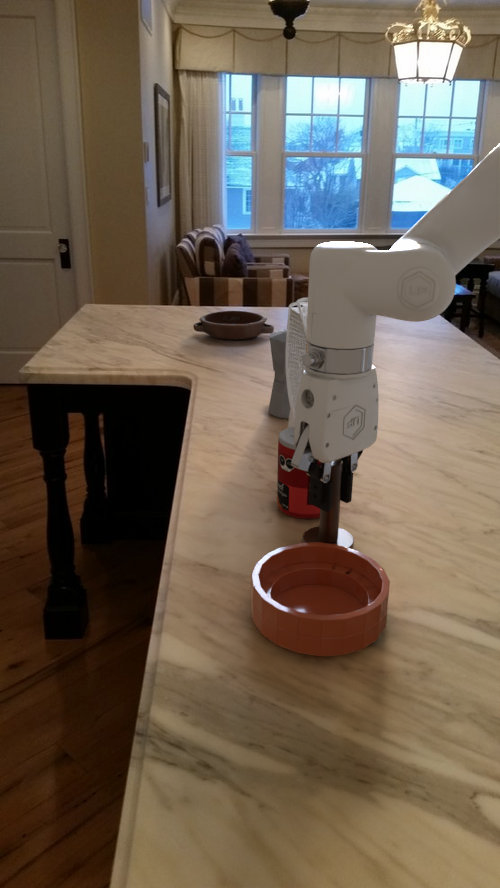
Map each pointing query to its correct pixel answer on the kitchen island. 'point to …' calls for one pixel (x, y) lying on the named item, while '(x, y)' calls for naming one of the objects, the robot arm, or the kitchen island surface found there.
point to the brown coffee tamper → (331, 517)
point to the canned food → (293, 481)
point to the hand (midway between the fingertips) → (330, 501)
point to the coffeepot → (279, 376)
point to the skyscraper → (295, 352)
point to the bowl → (319, 598)
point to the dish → (233, 325)
